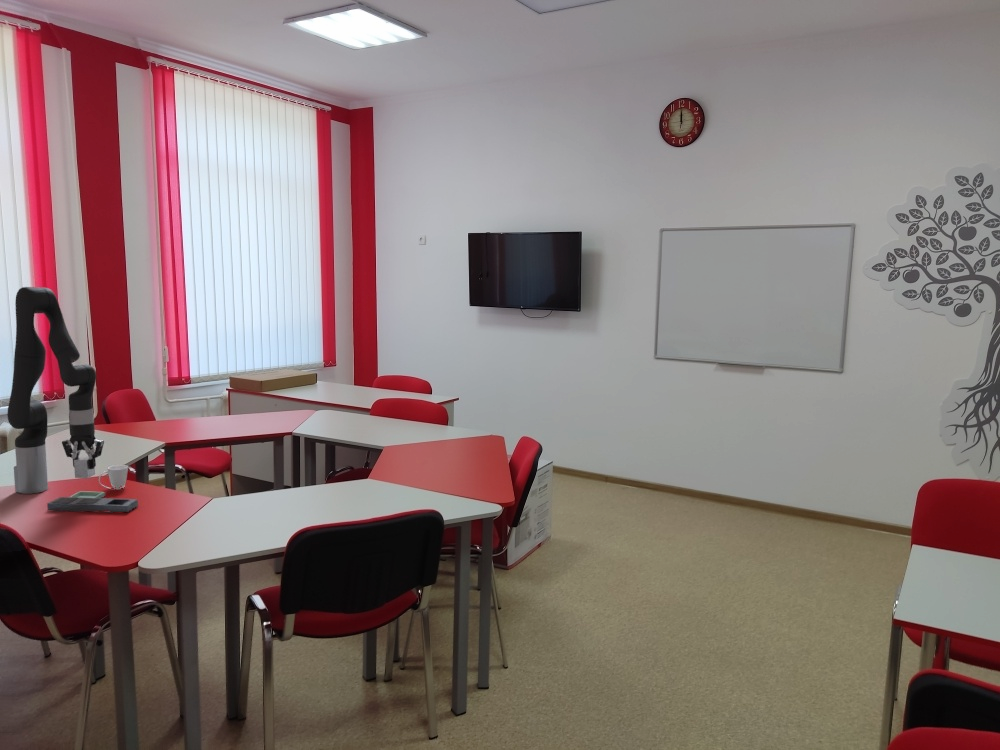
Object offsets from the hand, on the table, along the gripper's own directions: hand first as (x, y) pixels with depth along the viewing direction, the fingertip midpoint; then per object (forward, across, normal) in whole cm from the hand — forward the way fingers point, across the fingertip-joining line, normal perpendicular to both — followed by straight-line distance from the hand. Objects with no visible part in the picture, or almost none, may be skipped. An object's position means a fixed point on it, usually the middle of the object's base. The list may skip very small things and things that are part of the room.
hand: (84, 468), depth 247 cm
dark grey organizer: (+12, +7, -9) cm, 16 cm away
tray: (+12, 0, 0) cm, 12 cm away
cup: (+12, +3, +13) cm, 18 cm away
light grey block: (+3, 0, 0) cm, 3 cm away
